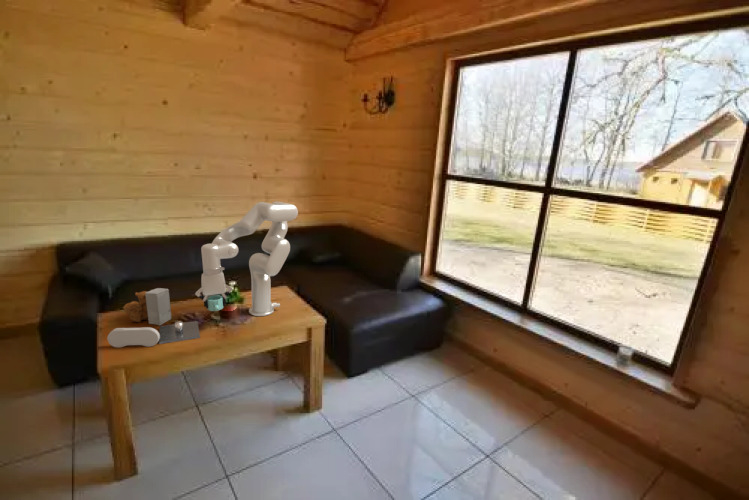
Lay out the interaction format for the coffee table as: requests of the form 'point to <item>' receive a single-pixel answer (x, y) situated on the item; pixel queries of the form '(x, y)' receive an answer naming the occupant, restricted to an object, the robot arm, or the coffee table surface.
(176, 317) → the coffee table surface
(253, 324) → the coffee table surface
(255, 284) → the robot arm
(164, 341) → the grey plate with knob
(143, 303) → the stuffed squirrel
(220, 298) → the teal cup
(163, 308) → the skincare box
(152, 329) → the game controller
